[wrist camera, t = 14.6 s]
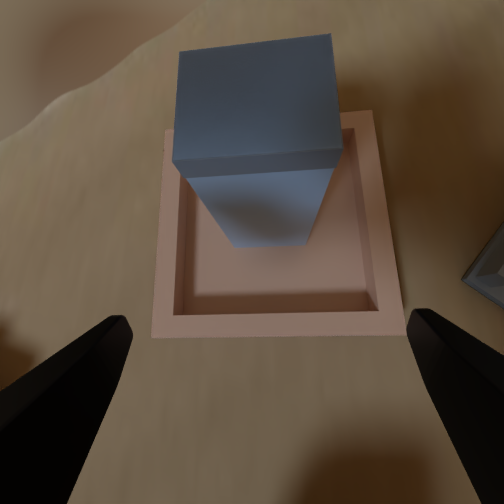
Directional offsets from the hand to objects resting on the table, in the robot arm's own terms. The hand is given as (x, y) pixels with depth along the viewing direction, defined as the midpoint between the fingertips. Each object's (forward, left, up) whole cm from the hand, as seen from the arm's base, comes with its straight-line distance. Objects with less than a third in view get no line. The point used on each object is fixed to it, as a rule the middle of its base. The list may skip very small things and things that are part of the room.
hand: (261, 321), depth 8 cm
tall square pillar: (-3, +8, -13) cm, 15 cm away
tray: (-3, +7, -13) cm, 15 cm away
